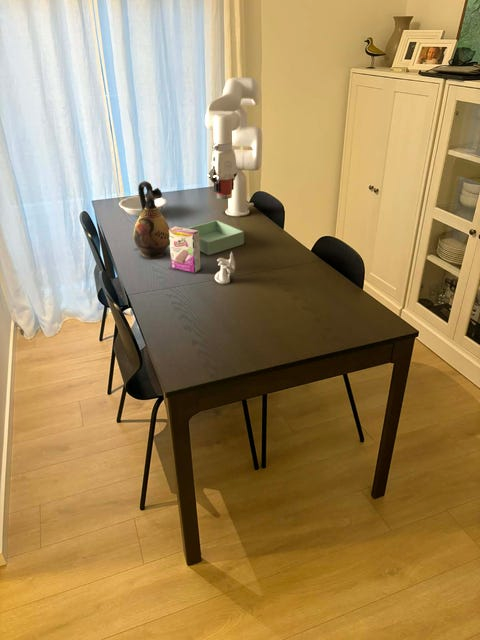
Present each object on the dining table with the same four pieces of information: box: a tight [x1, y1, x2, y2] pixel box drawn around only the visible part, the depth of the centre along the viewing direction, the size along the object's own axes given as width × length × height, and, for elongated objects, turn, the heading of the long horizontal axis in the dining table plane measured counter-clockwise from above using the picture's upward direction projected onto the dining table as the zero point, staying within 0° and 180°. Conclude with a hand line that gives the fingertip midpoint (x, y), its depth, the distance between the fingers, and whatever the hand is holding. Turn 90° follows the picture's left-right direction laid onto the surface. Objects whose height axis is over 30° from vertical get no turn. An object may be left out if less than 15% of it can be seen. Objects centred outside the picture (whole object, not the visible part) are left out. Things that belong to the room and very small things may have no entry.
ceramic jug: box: [132, 180, 170, 259], centre depth 201 cm, size 17×15×30 cm
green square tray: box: [187, 219, 245, 256], centre depth 218 cm, size 20×20×6 cm
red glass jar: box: [215, 174, 232, 200], centre depth 206 cm, size 7×7×10 cm
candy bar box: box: [169, 225, 202, 274], centre depth 192 cm, size 11×5×16 cm, turn 65°
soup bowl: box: [118, 195, 168, 218], centre depth 250 cm, size 24×24×7 cm
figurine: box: [214, 251, 236, 285], centre depth 182 cm, size 11×8×12 cm
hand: (223, 190), depth 208 cm, fingers closed on red glass jar, 6 cm apart
